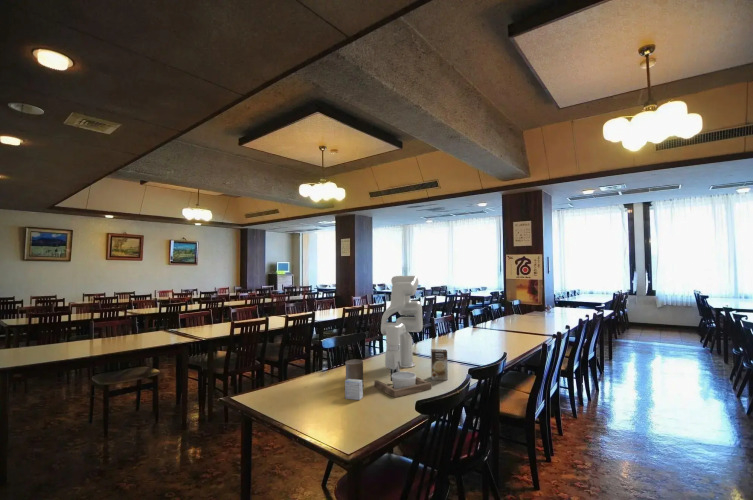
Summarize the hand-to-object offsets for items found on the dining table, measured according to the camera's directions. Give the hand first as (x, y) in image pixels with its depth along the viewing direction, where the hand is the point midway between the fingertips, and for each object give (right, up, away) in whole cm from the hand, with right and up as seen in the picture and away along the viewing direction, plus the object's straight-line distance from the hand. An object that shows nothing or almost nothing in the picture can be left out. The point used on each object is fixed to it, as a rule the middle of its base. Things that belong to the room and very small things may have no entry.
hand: (393, 380), depth 199 cm
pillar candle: (-22, -2, -5) cm, 22 cm away
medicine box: (-21, -1, -22) cm, 30 cm away
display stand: (+4, -1, -7) cm, 8 cm away
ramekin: (+5, -1, -8) cm, 10 cm away
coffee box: (+27, -2, +8) cm, 28 cm away
